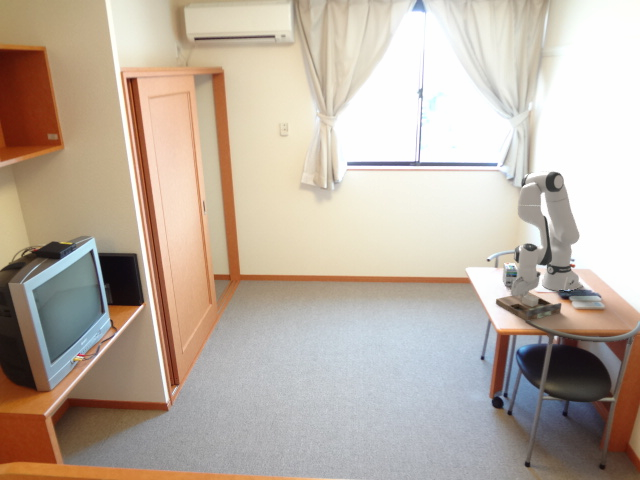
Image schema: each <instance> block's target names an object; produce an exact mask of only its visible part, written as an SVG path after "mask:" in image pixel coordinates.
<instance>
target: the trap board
mask: <svg viewBox="0 0 640 480" xmlns="http://www.w3.org/2000/svg"><path fill="white" fill-rule="evenodd" d="M527 295H531V296H534V297H537V298H539V299H538V304H537V305H535V306H533V307H531V306H528V305H526V304H523V303H522V300H521V299H520V295H519V296H517V297H516V296H513V295H508V296H504V297H500V298H496V299H495V304H496V305H498V306H500V307H502V308H503V309H505V310H507V311H508V312H510V313H512V314H514V315H516V316H517V317H519V318H521V319H522V320H524V321H526V320H530V321H533V320H537V319H540V318H544V317H548V316H553V315H556V314H559V313H561V312H562V311H561V309H562V302H558V303H554V304H553V303H551V302H550V301H547V300H545V299H543V298H541V297H539V296H537V295H536V294H534V293H532V292H530V291H529V293H528V294H527Z"/></svg>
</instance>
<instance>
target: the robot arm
mask: <svg viewBox="0 0 640 480" xmlns="http://www.w3.org/2000/svg"><path fill="white" fill-rule="evenodd" d="M564 182H565V181H564V177H563V175H562V174H561V173H560V172H556V171H540V172H529V173H526V174H525V175H524V176H523V177H522V178H521V183H520V184H521V188H520V191H519V196H518V201H517V215H518V217H519V219H520V220H522V221H523V222H525V223H528V224H529V225H532V226H535V227H536V228H537V230H539V234H540V235H539V237H540V245H539V246H538V245H535V244H534V243H524V244H521V245H517V246H516V247H515V248H514V255H513V260H514V261H515V262H516V263H517V264H518V266H517V268H518V271H517V278H518V279H516V280H515V281H514V282H513V284H512V286H511V288H510V296H512V295H513V296H516V297H517V296H519V295H520V299H521V300H522V297H524V296H526V295H527V294H528V293H529V292H530V291H532V290H535V289H537V288H538V286H539V284H540V276H541V274H542V272H540V271H537V265H538V266H543V267H545V266H546V268H545V272H544V274H543V278H542V279H541V286H542V287H544V288H545V289H548V290H552V291H557V292H560V291H559V290H561V289H562V290H568V289H570V290H573V289H576V290H577V288H578V289H580V288H582V287H583V286H584V285H583V283H582V282H580V281H579V279H580V278H579V275H578V274H577V273H576V272H574V270H573V269H574V268H575V267H576V264H574V263H571V260H572V259H571V258H572V252H573V250H572V246H571V245H574V244H576V243H577V242H578V241H579V240H580V232H579V229H578V226H577V224H576V220H575V217H574V215H573V213H572V212H573V211H572V209H571V204H570V199H569V194H568V192H567V191H568V190H567V188H566V185H565V183H564ZM543 193H544V199H545V204H546V207H547V208H546V209H547V212H548V215H549V218H550V222H548V219H547V217H546V215H544V214H543V213H542V208H541V207H542V206H541V205H542V196H541V195H542V194H543ZM548 223H549V224H548ZM572 268H573V269H572ZM573 291H574V290H573Z"/></svg>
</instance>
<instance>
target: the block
mask: <svg viewBox="0 0 640 480" xmlns="http://www.w3.org/2000/svg"><path fill="white" fill-rule="evenodd" d="M538 299H539V298H537V297H534V296H531V295H526V296H524V297H522V303H523V304H526V305H528V306H531V307H533V306H535V305H537V304H538Z"/></svg>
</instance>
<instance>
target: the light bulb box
mask: <svg viewBox="0 0 640 480" xmlns="http://www.w3.org/2000/svg"><path fill="white" fill-rule="evenodd" d="M517 271H518V266H517V264H516V263H515V262H504V263H503V270H502V282H503V284H504V286H505V287H512V284H513V282H514V281H515V280H516V279H518V278H517Z"/></svg>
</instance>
